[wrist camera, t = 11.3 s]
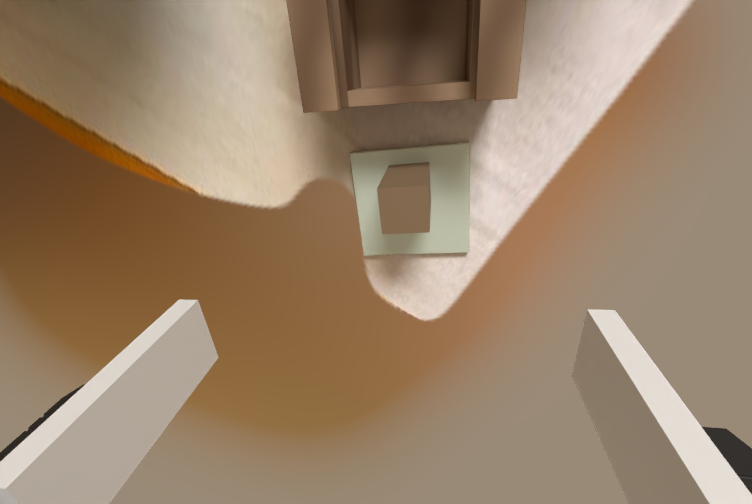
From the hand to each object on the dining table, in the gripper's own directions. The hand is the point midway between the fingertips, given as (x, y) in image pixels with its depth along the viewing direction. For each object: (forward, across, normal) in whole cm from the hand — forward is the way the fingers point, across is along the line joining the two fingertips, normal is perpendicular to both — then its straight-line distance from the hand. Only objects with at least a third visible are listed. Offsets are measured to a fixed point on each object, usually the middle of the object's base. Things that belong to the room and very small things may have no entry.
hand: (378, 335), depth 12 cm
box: (+22, 0, +12) cm, 25 cm away
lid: (+22, 0, -3) cm, 23 cm away
